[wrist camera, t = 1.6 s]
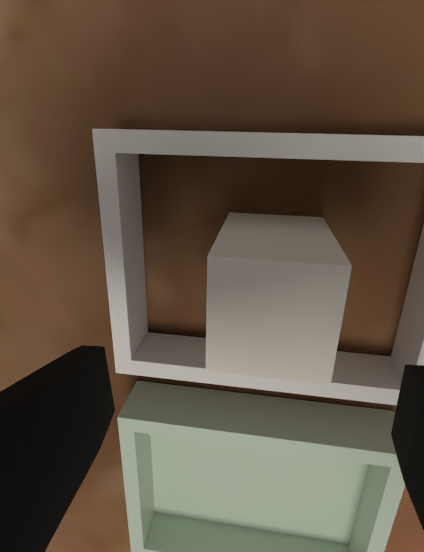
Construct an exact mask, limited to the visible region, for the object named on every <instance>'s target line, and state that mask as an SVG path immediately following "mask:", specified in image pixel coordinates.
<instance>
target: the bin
mask: <svg viewBox="0 0 424 552" xmlns="http://www.w3.org/2000/svg"><path fill="white" fill-rule="evenodd" d="M92 134H93V144H94V155H95V165H96V175H97V185H98V196H99V206H100V216H101V226H102V236H103V247H104V257H105V267H106V277H107V287H108V298H109V308H110V318H111V328H112V338H113V349H114V359H115V369H116V373H122V374H130V375H139V376H147V377H156V378H165V379H173V380H182V381H191V382H199V383H208V384H216V385H225V386H234V387H242V388H251V389H259V390H268V391H277V392H285V393H294V394H303V395H311V396H320V397H328V398H337V399H346V400H354V401H363V402H372V403H380V404H389V405H397V401H398V397H399V392H400V387H401V382H402V377H403V372H404V367H405V364H406V365H423V366H424V224H423V228H422V232H421V236H420V240H419V244H418V248H417V252H416V256H415V260H414V264H413V268H412V272H411V276H410V281H409V285H408V289H407V293H406V297H405V301H404V305H403V309H402V313H401V317H400V321H399V325H398V329H397V333H396V337H395V341H394V345H393V349H392V353H391V356H382V355H372V354H362V353H352V352H342V351H337V352H336V358H335V364H334V369H333V375H332V380H331V385H328V384H319V383H310V382H301V381H292V380H283V379H274V378H265V377H256V376H248V375H239V374H230V373H221V372H212V371H205V369H206V338H201V337H191V336H181V335H171V334H161V333H151V332H148V320H147V301H146V283H145V264H144V246H143V227H142V208H141V190H140V171H139V154H162V155H193V156H224V157H255V158H286V159H317V160H348V161H379V162H410V163H424V136H407V135H364V134H320V133H277V132H233V131H190V130H146V129H92Z"/></svg>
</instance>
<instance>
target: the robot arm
mask: <svg viewBox="0 0 424 552" xmlns="http://www.w3.org/2000/svg"><path fill="white" fill-rule="evenodd" d="M114 411H115V408H114V402H113V396H112V390H111V384H110V378H109V372H108V366H107V360H106V354H105V348H104V347H100V346H83V345H82V346H80V347H78V348H76V349H74V350H72V351H70V352H68V353H66V354H64V355H63V356H61V357H59V358H57V359H56V360H54V361H52V362H50V363H49V364H47V365H45V366H44V367H42V368H40V369H39V370H37V371H35V372H33V373H32V374H30V375H28V376H27V377H25V378H23V379H21V380H20V381H18V382H16V383H14V384H13V385H11V386H9V387H8V388H6V389H4V390H2V391H1V392H0V552H45V551H46V549H47V547H48V545H49V543H50V541H51V539H52V537H53V535H54V533H55V531H56V530H57V528H58V526H59V524H60V522H61V520H62V518H63V517H64V515H65V513H66V511H67V509H68V507H69V506H70V504H71V502H72V500H73V498H74V496H75V494H76V493H77V491H78V489H79V487H80V485H81V483H82V482H83V480H84V478H85V476H86V474H87V472H88V470H89V468H90V467H91V465H92V463H93V461H94V459H95V457H96V455H97V453H98V451H99V449H100V447H101V445H102V442H103V440H104V438H105V435H106V433H107V430H108V427H109V425H110V422H111V419H112V417H113V414H114ZM391 436H392V440H393V444H394V448H395V452H396V455H397V459H398V463H399V466H400V470H401V473H402V477H403V480H404V482H405V485H406V488H407V490H408V493H409V495H410V498H411V500H412V503H413V505H414V508H415V510H416V513H417V515H418V518H419V520H420V523H421V525H422V528H423V530H424V366H423V365H406V364H405V367H404V372H403V377H402V382H401V387H400V392H399V397H398V401H397V406H396V411H395V416H394V421H393V426H392V431H391Z"/></svg>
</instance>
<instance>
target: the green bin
mask: <svg viewBox="0 0 424 552" xmlns="http://www.w3.org/2000/svg"><path fill="white" fill-rule="evenodd" d="M394 416H395V412H394V411H391V410H382V409H374V408H365V407H357V406H348V405H340V404H331V403H323V402H314V401H306V400H297V399H289V398H280V397H272V396H264V395H255V394H247V393H238V392H230V391H221V390H213V389H204V388H196V387H187V386H179V385H170V384H162V383H153V382H145V381H137V382H136V383H135V385H134V387H133V389H132V391H131V393H130V395H129V397H128V398H127V400H126V402H125V404H124V406H123V408H122V410H121V411H120V413H119V415H118V417H117V418H118V428H119V438H120V448H121V457H122V467H123V477H124V487H125V497H126V507H127V516H128V526H129V536H130V546H131V552H384V551H385V547H386V544H387V541H388V538H389V535H390V532H391V528H392V525H393V522H394V519H395V516H396V513H397V510H398V506H399V503H400V500H401V497H402V494H403V491H404V487H405V482H404V480H403V477H402V473H401V470H400V466H399V463H398V459H397V455H396V452H395V448H394V444H393V440H392V436H391V431H392V426H393V421H394Z"/></svg>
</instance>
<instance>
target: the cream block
mask: <svg viewBox="0 0 424 552" xmlns="http://www.w3.org/2000/svg"><path fill="white" fill-rule="evenodd" d="M351 269H352V265H351V263H350V262H349V260H348V258H347V257H346V255H345V253H344V252H343V250H342V248H341V247H340V245H339V243H338V242H337V240H336V238H335V236H334V235H333V233H332V231H331V230H330V228H329V226H328V225H327V223H326V221H325V220H324V218H323V217H309V216H290V215H271V214H252V213H233V212H229V214H228V216H227V218H226V220H225V222H224V224H223V226H222V228H221V230H220V232H219V234H218V236H217V238H216V240H215V242H214V244H213V246H212V248H211V250H210V252H209V254H208V256H207V309H206V369H205V371H212V372H221V373H230V374H239V375H248V376H256V377H265V378H274V379H283V380H292V381H301V382H310V383H319V384H328V385H331V380H332V375H333V369H334V364H335V358H336V352H337V347H338V341H339V336H340V330H341V325H342V319H343V313H344V308H345V302H346V297H347V291H348V285H349V280H350V274H351Z"/></svg>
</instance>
